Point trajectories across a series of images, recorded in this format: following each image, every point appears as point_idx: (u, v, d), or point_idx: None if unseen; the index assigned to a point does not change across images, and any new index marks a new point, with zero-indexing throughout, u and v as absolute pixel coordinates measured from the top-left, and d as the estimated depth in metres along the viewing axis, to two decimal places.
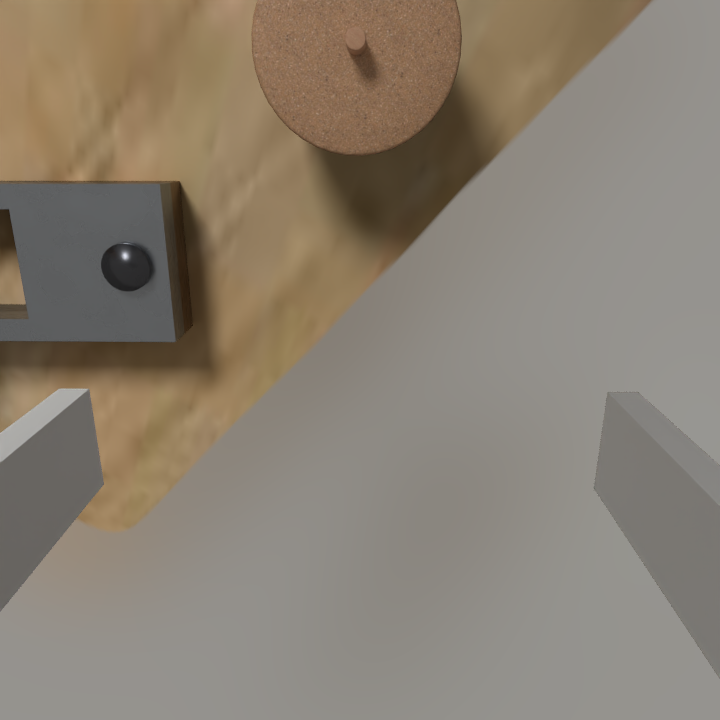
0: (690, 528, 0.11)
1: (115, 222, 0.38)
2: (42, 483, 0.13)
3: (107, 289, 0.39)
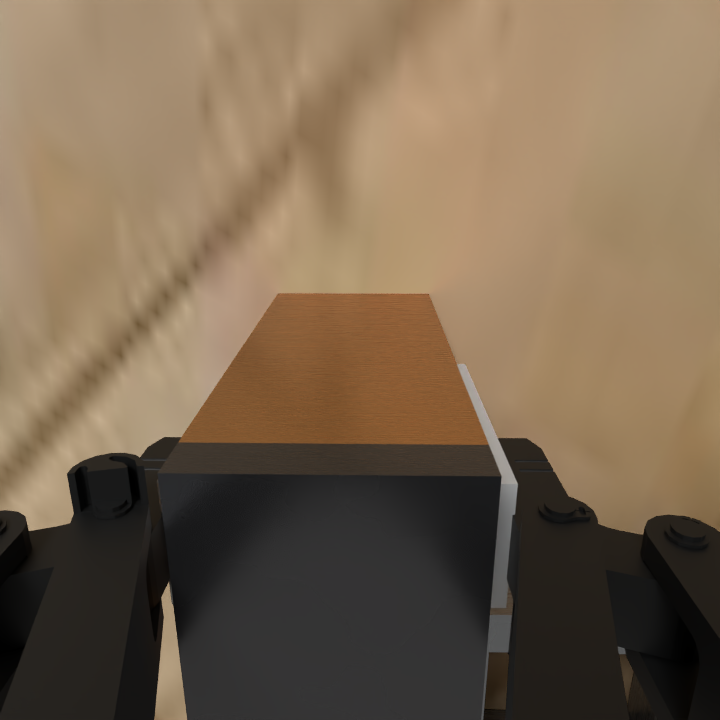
0: None
1: None
2: None
3: None
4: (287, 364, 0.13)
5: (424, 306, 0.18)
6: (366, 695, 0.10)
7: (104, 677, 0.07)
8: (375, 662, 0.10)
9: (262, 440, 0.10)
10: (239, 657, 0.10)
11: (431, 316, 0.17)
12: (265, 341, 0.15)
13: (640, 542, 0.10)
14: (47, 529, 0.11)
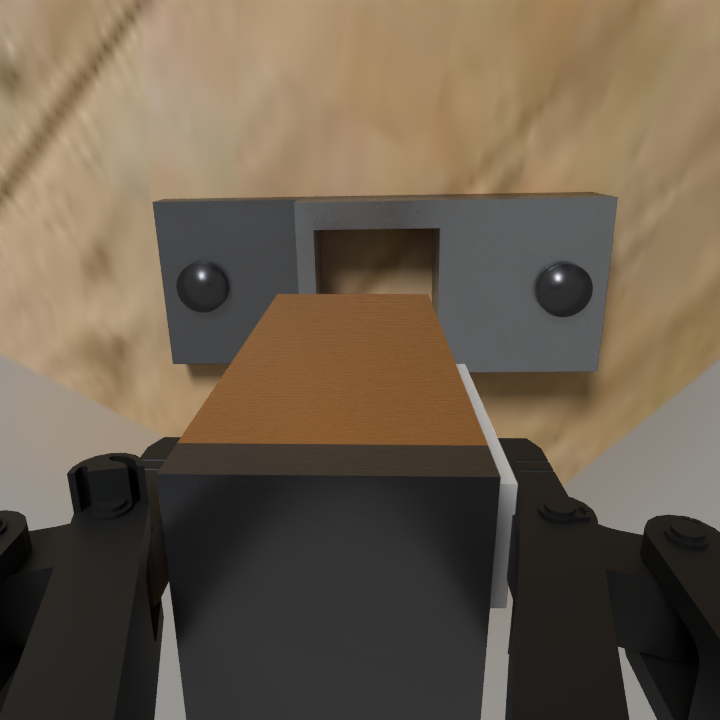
0: None
1: (557, 240, 0.34)
2: None
3: (532, 315, 0.35)
4: (286, 365, 0.13)
5: (423, 307, 0.18)
6: (365, 696, 0.10)
7: (103, 677, 0.07)
8: (374, 663, 0.10)
9: (261, 440, 0.10)
10: (238, 658, 0.10)
11: (431, 316, 0.17)
12: (265, 341, 0.15)
13: (640, 542, 0.10)
14: (46, 529, 0.11)
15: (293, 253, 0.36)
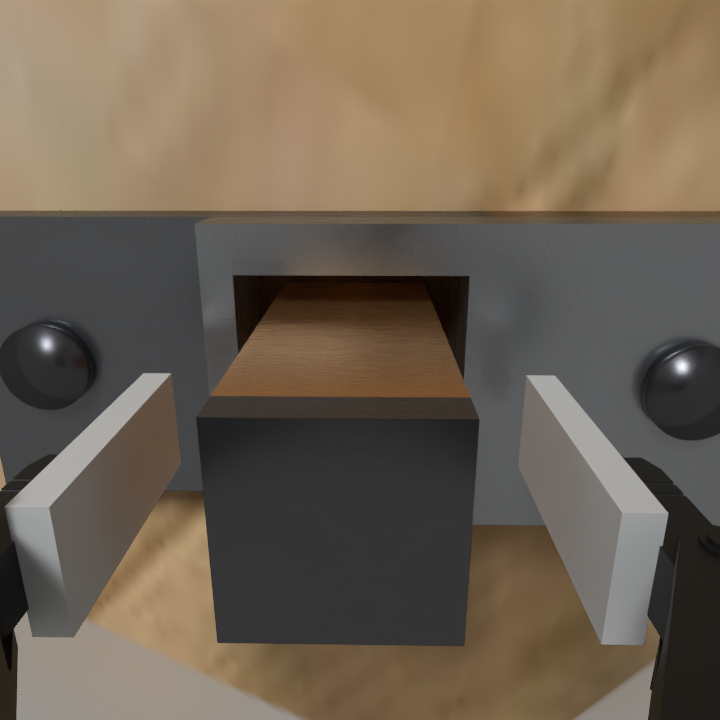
0: (575, 493, 0.12)
1: (688, 302, 0.18)
2: (140, 458, 0.14)
3: (631, 432, 0.19)
4: (298, 339, 0.15)
5: (419, 293, 0.20)
6: (368, 611, 0.12)
7: None
8: (375, 581, 0.12)
9: (281, 394, 0.12)
10: (261, 577, 0.12)
11: (425, 300, 0.19)
12: (277, 321, 0.17)
13: None
14: None
15: None
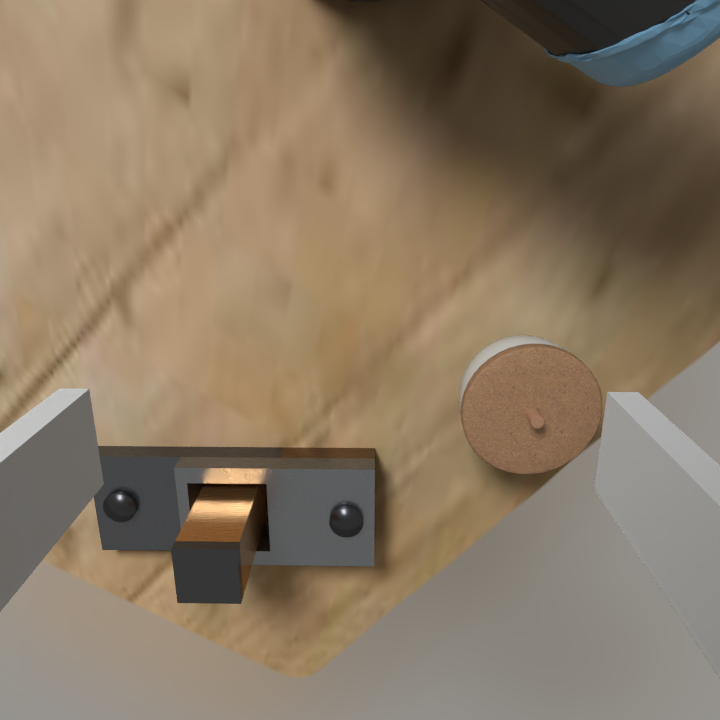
0: (690, 528, 0.11)
1: (340, 492, 0.53)
2: (42, 483, 0.13)
3: (329, 533, 0.55)
4: (204, 513, 0.51)
5: None
6: (215, 594, 0.47)
7: None
8: (216, 587, 0.47)
9: (192, 540, 0.47)
10: (188, 586, 0.47)
11: (256, 487, 0.55)
12: (200, 502, 0.52)
13: None
14: None
15: None
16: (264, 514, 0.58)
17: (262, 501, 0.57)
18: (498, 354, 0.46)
